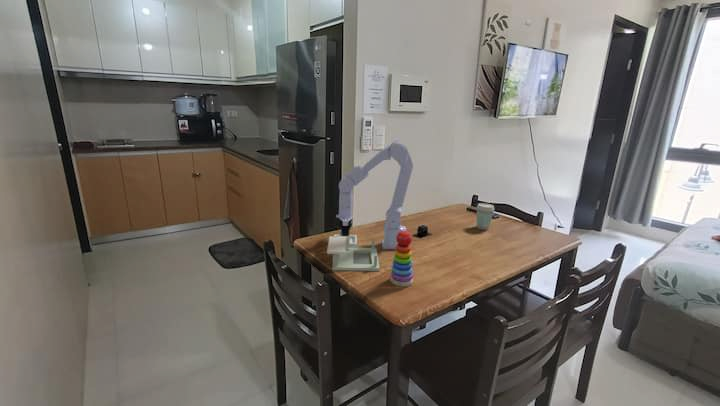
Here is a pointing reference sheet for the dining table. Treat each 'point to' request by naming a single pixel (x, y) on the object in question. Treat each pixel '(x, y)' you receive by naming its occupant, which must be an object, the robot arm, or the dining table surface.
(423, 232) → the black box
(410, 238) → the stacking toy
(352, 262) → the puzzle board
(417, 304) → the dining table surface
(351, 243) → the dish
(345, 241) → the cover
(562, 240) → the dining table surface
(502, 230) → the dining table surface
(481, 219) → the coffee cup
